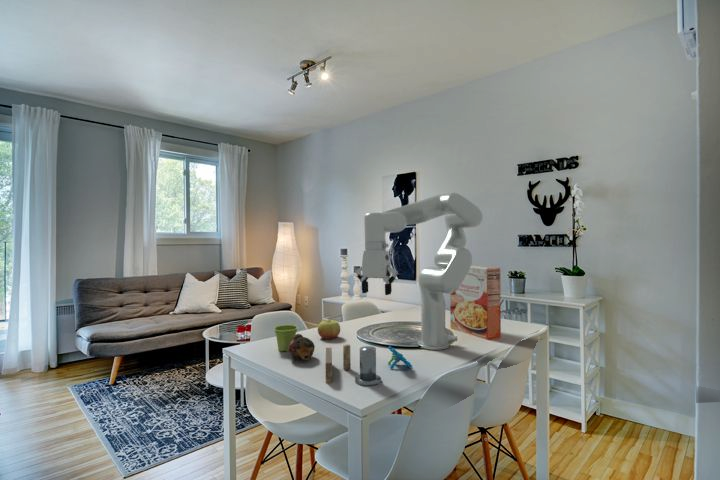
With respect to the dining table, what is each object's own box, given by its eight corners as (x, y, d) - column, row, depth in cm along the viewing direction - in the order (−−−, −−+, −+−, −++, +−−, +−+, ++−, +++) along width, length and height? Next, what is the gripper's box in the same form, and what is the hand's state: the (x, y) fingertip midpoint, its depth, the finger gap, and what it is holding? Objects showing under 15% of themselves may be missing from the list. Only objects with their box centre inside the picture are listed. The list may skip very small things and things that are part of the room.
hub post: (379, 375, 122) (378, 344, 122) (382, 385, 114) (382, 352, 114) (354, 376, 121) (353, 345, 121) (356, 386, 113) (355, 353, 113)
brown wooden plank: (332, 364, 133) (331, 347, 133) (332, 382, 117) (332, 362, 117) (326, 364, 133) (326, 347, 132) (325, 382, 117) (325, 363, 116)
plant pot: (303, 349, 151) (302, 327, 151) (283, 354, 145) (283, 331, 144) (288, 344, 158) (288, 323, 158) (269, 349, 151) (269, 327, 151)
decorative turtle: (306, 350, 149) (307, 330, 149) (320, 365, 136) (322, 343, 135) (282, 353, 144) (283, 332, 144) (294, 368, 131) (295, 345, 131)
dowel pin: (350, 367, 129) (350, 344, 129) (350, 370, 127) (350, 346, 127) (343, 368, 129) (343, 344, 129) (343, 370, 127) (343, 346, 127)
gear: (417, 367, 125) (395, 346, 124) (405, 381, 123) (383, 360, 123) (406, 361, 135) (386, 342, 135) (396, 374, 134) (375, 355, 134)
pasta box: (450, 328, 182) (450, 265, 182) (463, 326, 186) (462, 264, 185) (487, 339, 162) (486, 269, 161) (500, 337, 165) (500, 268, 165)
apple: (336, 334, 174) (336, 316, 174) (343, 339, 165) (343, 321, 165) (315, 336, 170) (315, 318, 170) (321, 342, 161) (320, 323, 161)
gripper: (401, 246, 137) (402, 293, 137) (361, 246, 147) (362, 290, 147) (391, 247, 131) (392, 297, 131) (349, 247, 140) (351, 293, 141)
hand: (376, 293), depth 139 cm, fingers open, 9 cm apart
